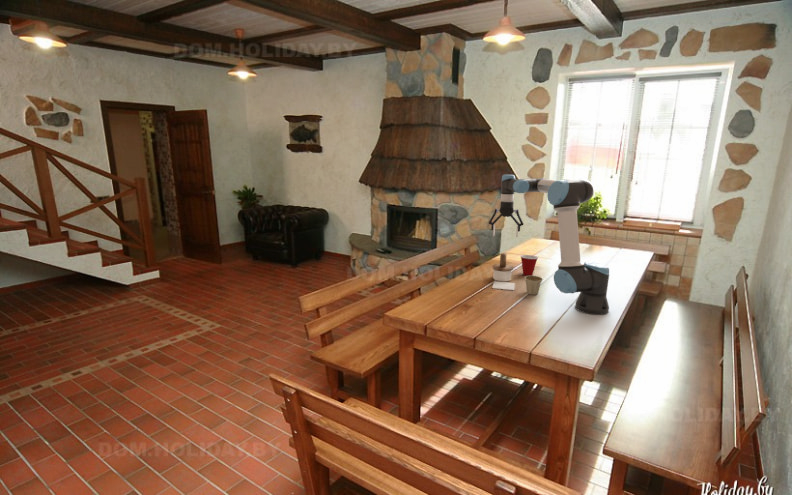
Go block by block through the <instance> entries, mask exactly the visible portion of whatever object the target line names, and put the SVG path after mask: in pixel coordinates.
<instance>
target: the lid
mask: <svg viewBox="0 0 792 495" xmlns="http://www.w3.org/2000/svg"><path fill="white" fill-rule="evenodd" d="M499 257H500V258H499V263H497V264H493V265H492V269H493V271H494V270H497V271H504V272H506V271H511V272H512V271H513V270H514V267H513V265H510V264H507V253H504V252H501V253H500V255H499Z"/></svg>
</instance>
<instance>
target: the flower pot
mask: <svg viewBox="0 0 792 495" xmlns="http://www.w3.org/2000/svg"><path fill="white" fill-rule="evenodd" d="M524 279H525V286H526V288H525V289H526V293H527V294H528V295H533V296H536V295H538V294H539V291H540V287H541V285H542V284H541V283H542V282H543V280H544V278H542V277H541V276H537V275H532V276H526V275H525V276H524Z"/></svg>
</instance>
